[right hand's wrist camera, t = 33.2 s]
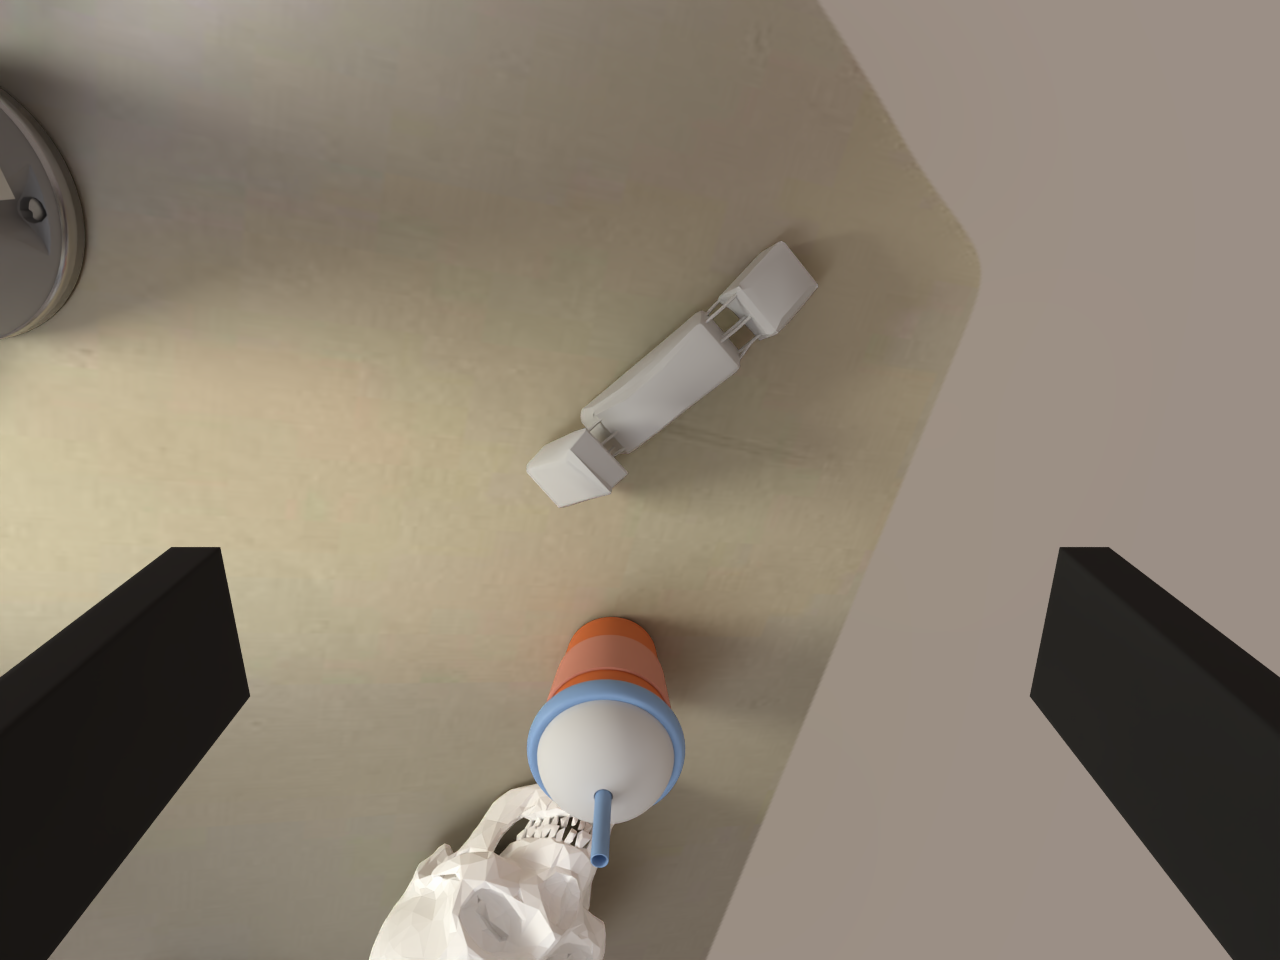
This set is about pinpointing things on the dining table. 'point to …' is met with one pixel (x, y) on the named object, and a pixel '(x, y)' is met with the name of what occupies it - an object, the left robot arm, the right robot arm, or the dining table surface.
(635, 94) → the dining table surface
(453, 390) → the dining table surface
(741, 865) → the dining table surface
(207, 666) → the right robot arm
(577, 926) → the skull
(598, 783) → the cup with straw
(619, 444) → the white segmented block model
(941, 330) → the dining table surface
